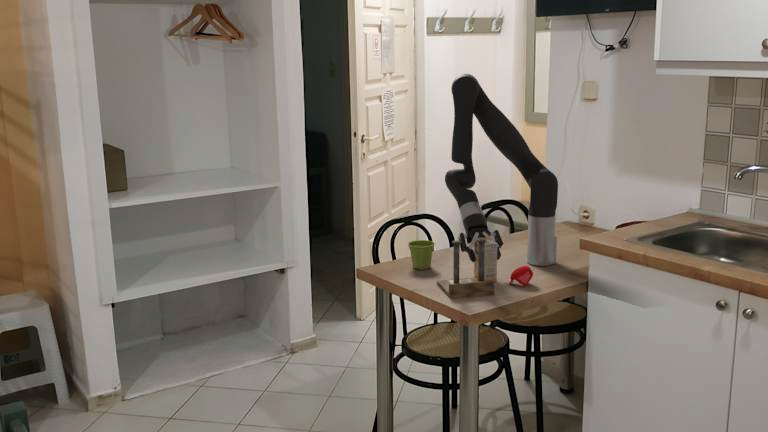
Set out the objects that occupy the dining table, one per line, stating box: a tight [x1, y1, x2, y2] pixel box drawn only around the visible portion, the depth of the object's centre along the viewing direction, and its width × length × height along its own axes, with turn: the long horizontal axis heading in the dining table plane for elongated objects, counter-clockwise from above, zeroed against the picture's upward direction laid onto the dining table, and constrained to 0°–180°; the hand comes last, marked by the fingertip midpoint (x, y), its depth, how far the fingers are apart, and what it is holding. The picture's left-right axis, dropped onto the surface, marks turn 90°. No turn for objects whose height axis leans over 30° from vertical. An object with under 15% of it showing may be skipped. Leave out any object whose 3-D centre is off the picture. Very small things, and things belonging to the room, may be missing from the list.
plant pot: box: [407, 239, 436, 271], centre depth 262 cm, size 9×9×9 cm
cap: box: [509, 265, 534, 287], centre depth 241 cm, size 8×6×6 cm
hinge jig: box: [436, 239, 495, 299], centre depth 236 cm, size 14×15×17 cm
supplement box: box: [473, 237, 498, 282], centre depth 247 cm, size 8×5×13 cm, turn 18°
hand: (486, 259), depth 246 cm, fingers open, 8 cm apart
